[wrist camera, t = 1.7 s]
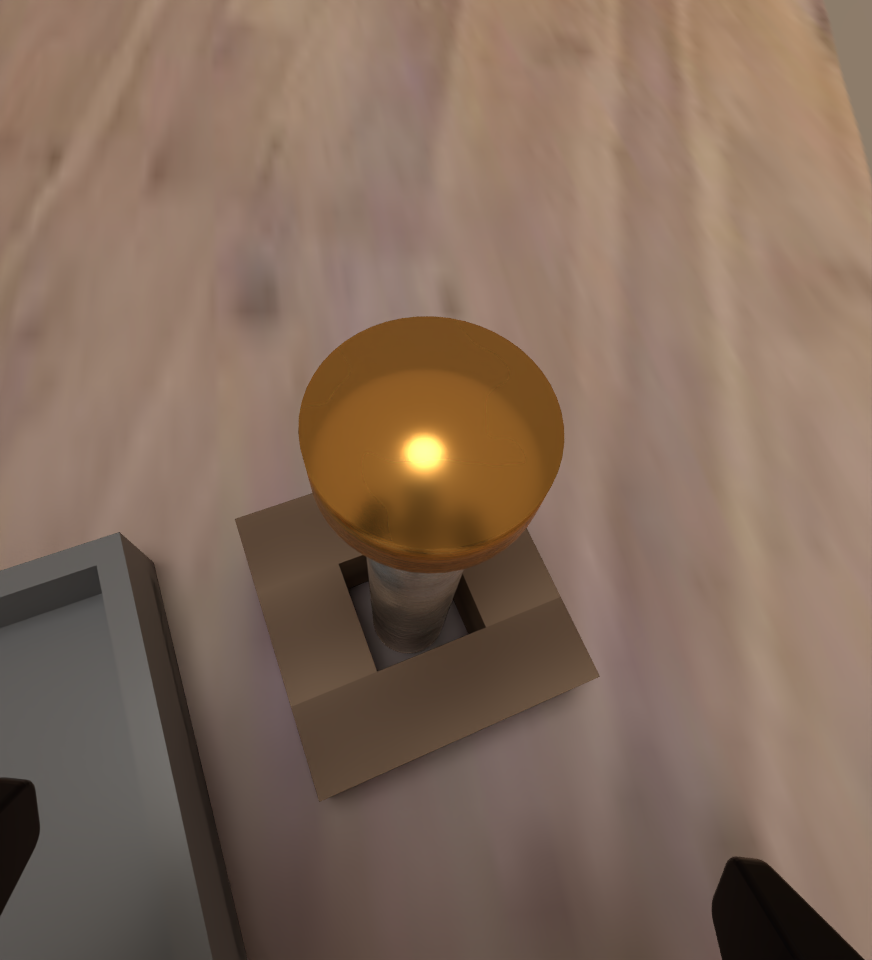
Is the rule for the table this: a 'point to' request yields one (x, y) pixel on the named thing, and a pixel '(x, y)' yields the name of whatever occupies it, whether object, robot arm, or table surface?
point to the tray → (106, 768)
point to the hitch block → (416, 681)
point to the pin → (427, 459)
